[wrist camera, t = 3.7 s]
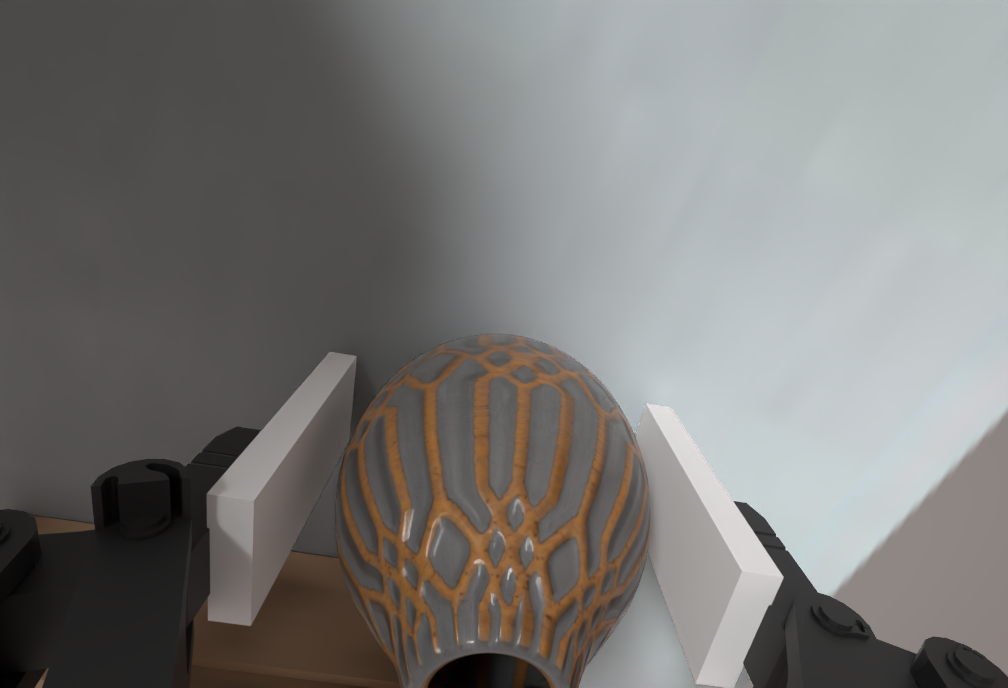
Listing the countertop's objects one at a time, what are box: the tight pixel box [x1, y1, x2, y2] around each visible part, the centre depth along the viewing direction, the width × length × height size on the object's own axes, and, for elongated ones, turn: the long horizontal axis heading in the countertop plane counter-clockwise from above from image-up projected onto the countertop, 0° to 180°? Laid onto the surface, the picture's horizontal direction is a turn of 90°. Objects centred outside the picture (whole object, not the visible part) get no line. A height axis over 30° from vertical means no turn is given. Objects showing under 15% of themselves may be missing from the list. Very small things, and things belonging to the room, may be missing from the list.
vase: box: [335, 334, 650, 688], centre depth 12 cm, size 7×7×9 cm
